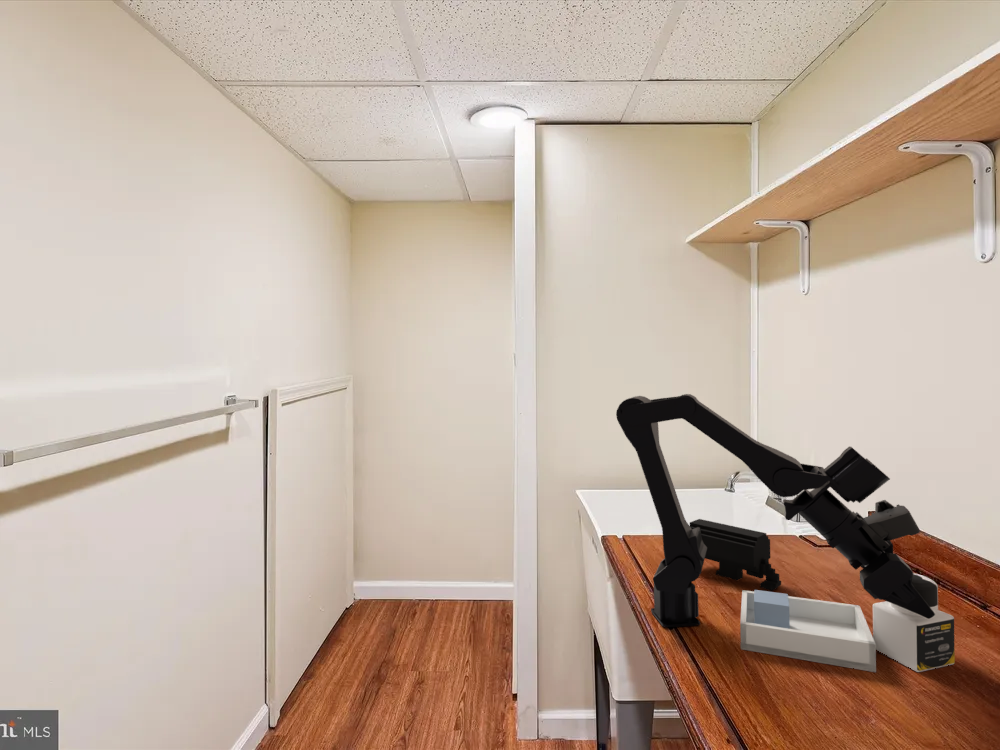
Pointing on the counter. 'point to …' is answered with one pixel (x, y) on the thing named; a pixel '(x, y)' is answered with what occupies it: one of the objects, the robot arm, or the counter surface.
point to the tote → (812, 633)
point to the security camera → (738, 552)
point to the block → (771, 609)
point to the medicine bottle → (915, 631)
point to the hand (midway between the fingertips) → (923, 603)
